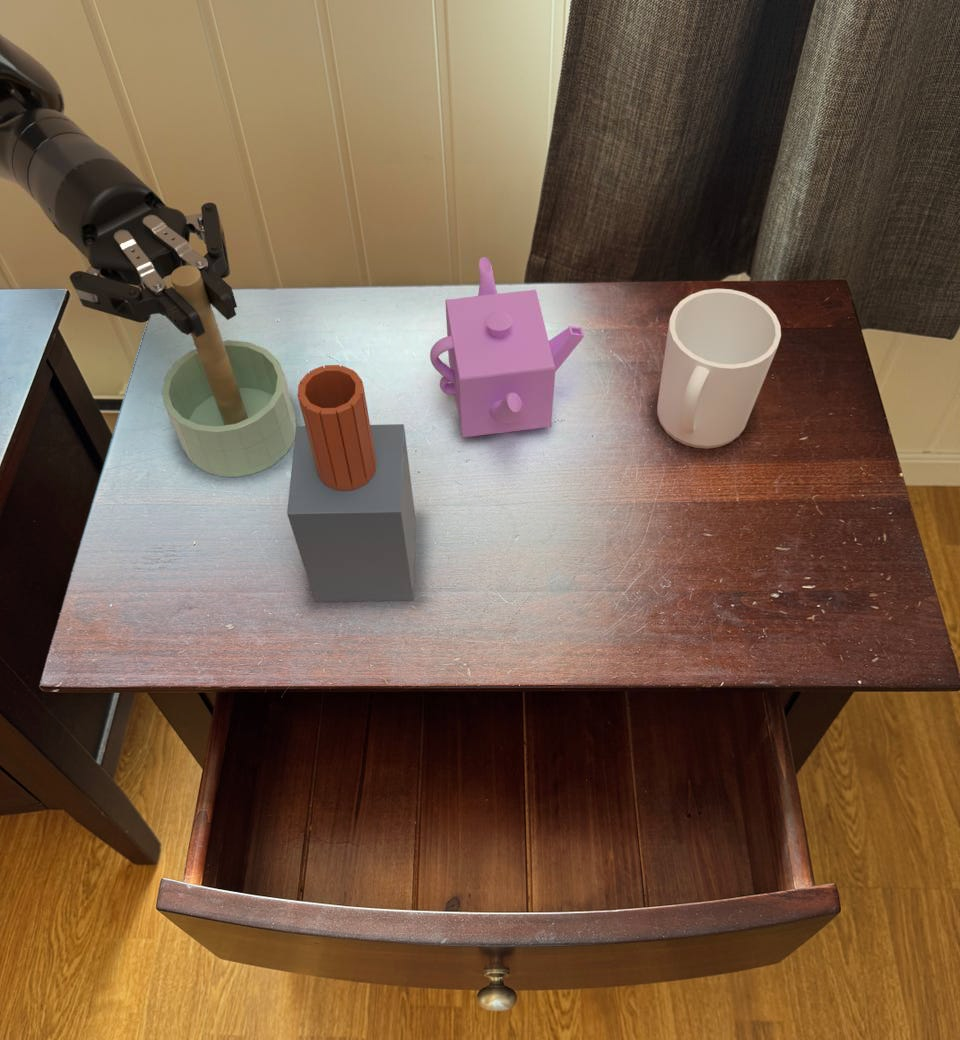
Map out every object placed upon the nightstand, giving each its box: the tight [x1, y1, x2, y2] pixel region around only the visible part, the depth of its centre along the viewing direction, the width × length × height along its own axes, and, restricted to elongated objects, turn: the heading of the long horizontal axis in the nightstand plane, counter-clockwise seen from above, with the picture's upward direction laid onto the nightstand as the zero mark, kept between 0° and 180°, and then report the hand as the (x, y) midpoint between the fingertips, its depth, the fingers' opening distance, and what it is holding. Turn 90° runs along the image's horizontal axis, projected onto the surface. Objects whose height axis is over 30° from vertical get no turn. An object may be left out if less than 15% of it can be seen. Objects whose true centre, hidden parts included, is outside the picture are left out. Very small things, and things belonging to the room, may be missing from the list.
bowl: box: [161, 339, 297, 478], centre depth 84 cm, size 10×10×6 cm
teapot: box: [429, 256, 585, 438], centre depth 84 cm, size 18×13×10 cm
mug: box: [656, 288, 782, 450], centre depth 82 cm, size 11×9×10 cm
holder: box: [286, 364, 417, 603], centre depth 71 cm, size 8×8×20 cm
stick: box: [170, 265, 248, 425], centre depth 79 cm, size 2×2×16 cm
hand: (214, 317), depth 72 cm, fingers closed on stick, 2 cm apart
